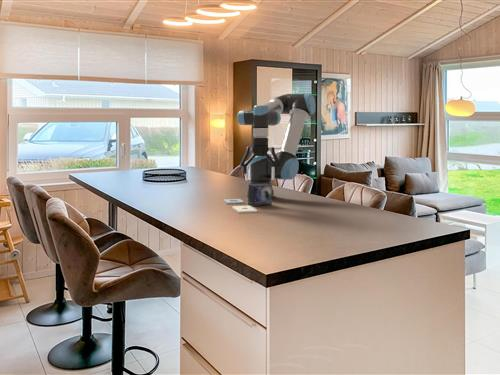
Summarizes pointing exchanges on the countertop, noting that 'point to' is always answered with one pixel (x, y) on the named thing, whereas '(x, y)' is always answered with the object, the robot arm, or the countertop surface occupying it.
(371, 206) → the countertop surface
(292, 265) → the countertop surface
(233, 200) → the pad
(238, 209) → the pad
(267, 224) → the countertop surface
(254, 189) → the small box
